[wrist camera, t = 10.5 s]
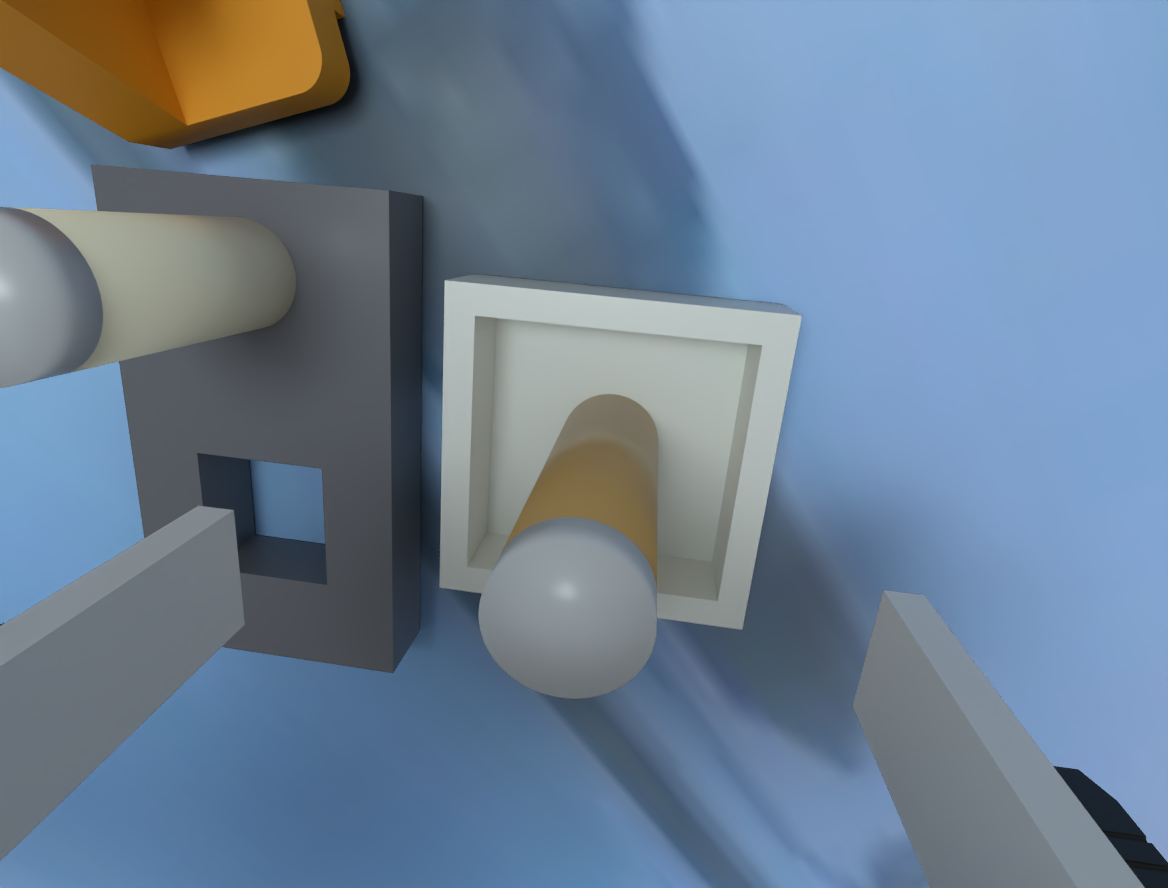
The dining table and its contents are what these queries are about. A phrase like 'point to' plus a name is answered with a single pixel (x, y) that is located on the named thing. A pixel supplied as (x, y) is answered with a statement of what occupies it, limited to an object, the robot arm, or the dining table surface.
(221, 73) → the bracket
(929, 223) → the dining table surface
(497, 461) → the parts tray
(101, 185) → the fuse block
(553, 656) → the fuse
